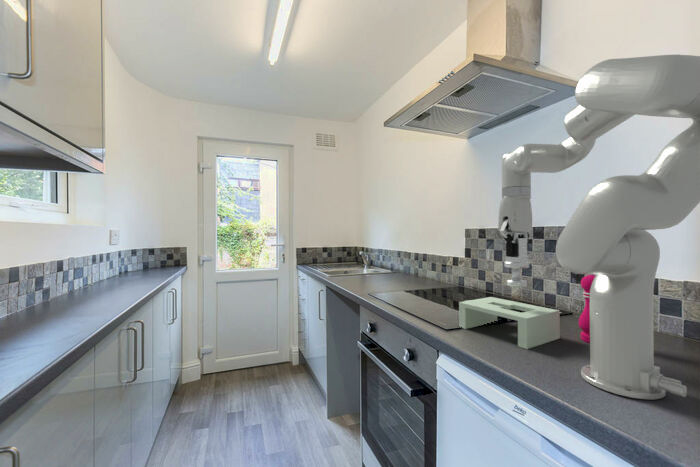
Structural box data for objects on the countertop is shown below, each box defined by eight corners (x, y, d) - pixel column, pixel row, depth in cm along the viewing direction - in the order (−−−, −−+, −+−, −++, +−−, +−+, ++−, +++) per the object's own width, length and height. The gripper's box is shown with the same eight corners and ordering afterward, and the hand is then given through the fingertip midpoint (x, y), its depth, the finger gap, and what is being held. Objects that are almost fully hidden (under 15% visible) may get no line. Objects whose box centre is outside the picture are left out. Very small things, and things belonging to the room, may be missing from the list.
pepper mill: (581, 343, 83) (580, 270, 83) (576, 335, 90) (575, 267, 90) (615, 347, 80) (614, 271, 80) (607, 339, 86) (607, 268, 86)
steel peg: (533, 286, 89) (533, 238, 89) (520, 288, 86) (520, 238, 86) (512, 283, 94) (512, 237, 94) (499, 285, 91) (499, 238, 91)
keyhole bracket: (559, 338, 87) (559, 310, 87) (526, 349, 79) (526, 318, 79) (491, 319, 106) (490, 296, 106) (459, 327, 99) (459, 302, 99)
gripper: (520, 197, 97) (521, 254, 97) (486, 194, 89) (486, 256, 89) (545, 194, 91) (545, 256, 91) (510, 191, 83) (511, 258, 83)
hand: (516, 255), depth 90 cm, fingers closed on steel peg, 4 cm apart
